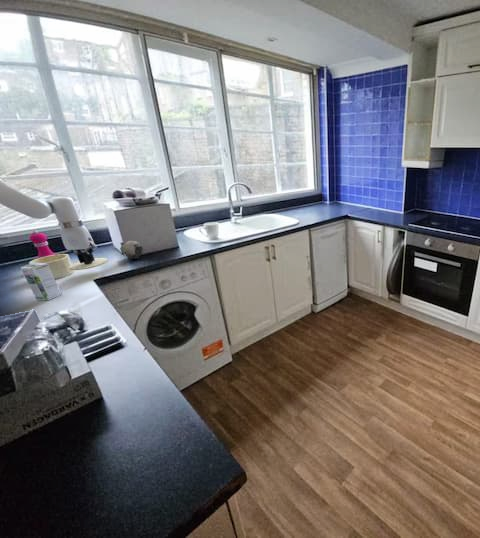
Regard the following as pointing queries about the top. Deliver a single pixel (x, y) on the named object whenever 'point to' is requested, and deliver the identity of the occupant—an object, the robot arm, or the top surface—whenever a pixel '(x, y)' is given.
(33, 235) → the pepper mill
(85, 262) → the lid
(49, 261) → the pot
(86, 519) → the top surface
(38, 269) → the syrup box
